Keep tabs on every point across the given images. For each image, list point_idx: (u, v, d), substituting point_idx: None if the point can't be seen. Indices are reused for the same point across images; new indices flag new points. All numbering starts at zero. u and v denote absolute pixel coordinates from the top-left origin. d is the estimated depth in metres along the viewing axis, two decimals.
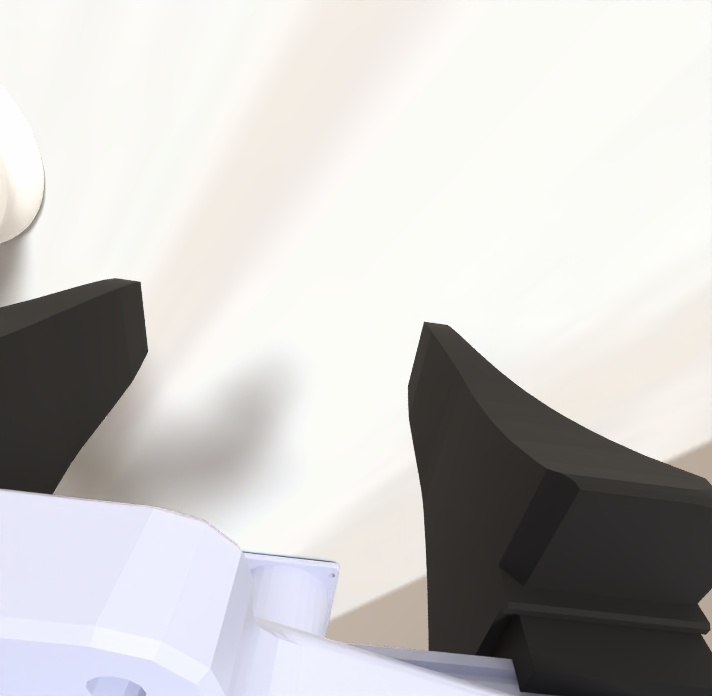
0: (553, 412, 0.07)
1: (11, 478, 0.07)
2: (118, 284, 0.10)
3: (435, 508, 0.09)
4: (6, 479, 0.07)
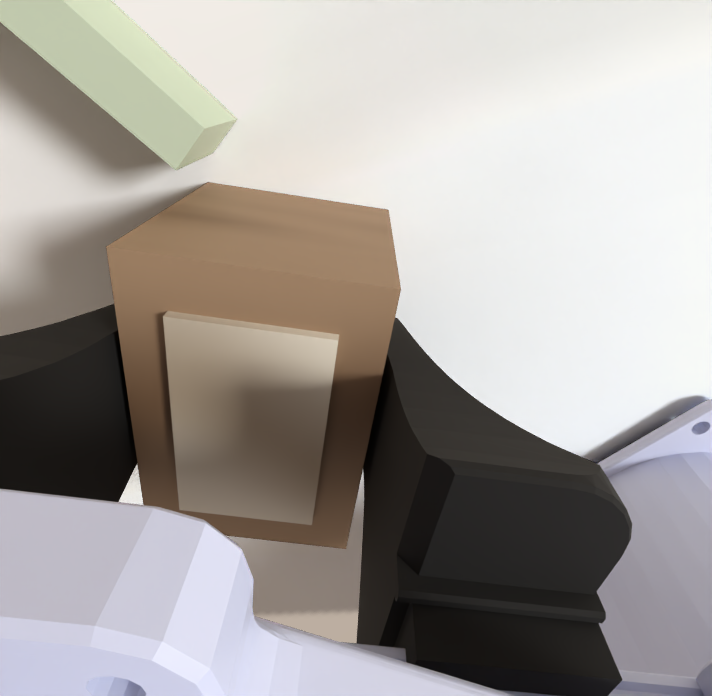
0: (475, 402, 0.07)
1: (88, 487, 0.08)
2: None
3: (369, 500, 0.09)
4: (84, 488, 0.07)
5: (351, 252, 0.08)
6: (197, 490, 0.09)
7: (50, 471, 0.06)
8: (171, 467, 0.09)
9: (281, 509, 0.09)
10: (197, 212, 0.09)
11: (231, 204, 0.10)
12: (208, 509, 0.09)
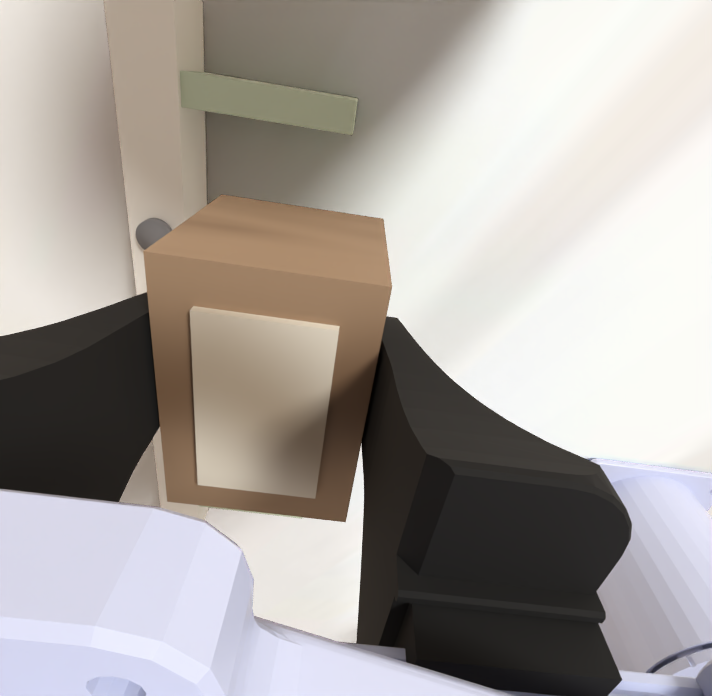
0: (475, 402, 0.07)
1: (88, 487, 0.08)
2: None
3: (369, 500, 0.09)
4: (85, 488, 0.07)
5: (350, 256, 0.09)
6: (214, 466, 0.10)
7: (50, 471, 0.06)
8: (191, 446, 0.10)
9: (288, 484, 0.11)
10: (215, 221, 0.10)
11: (244, 214, 0.11)
12: (223, 484, 0.11)
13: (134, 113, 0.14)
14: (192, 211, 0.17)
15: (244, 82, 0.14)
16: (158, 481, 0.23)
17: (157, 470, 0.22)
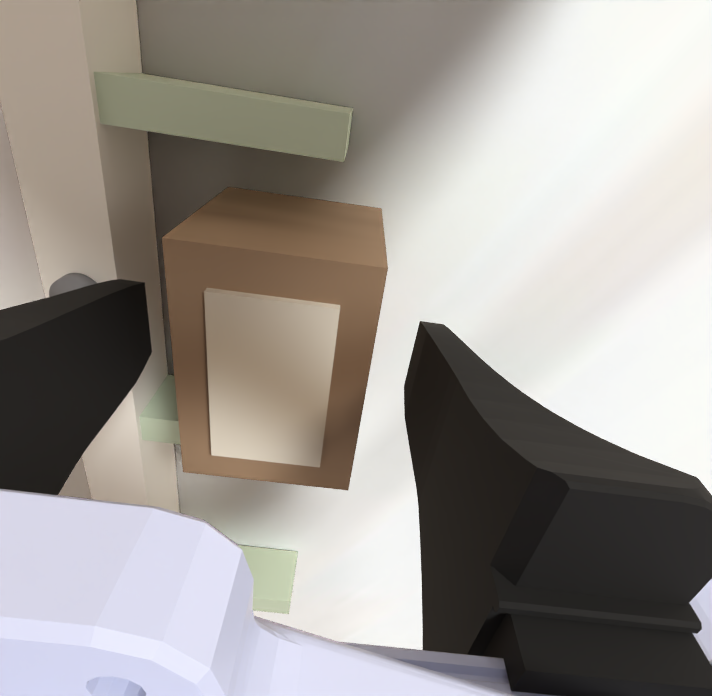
0: (547, 411, 0.07)
1: (17, 479, 0.07)
2: (123, 285, 0.10)
3: (429, 507, 0.09)
4: (12, 480, 0.07)
5: (350, 241, 0.10)
6: (226, 437, 0.11)
7: None
8: (205, 419, 0.11)
9: (294, 453, 0.11)
10: (224, 211, 0.11)
11: (251, 204, 0.12)
12: (235, 454, 0.11)
13: (33, 133, 0.10)
14: (130, 261, 0.12)
15: (188, 88, 0.10)
16: None
17: None
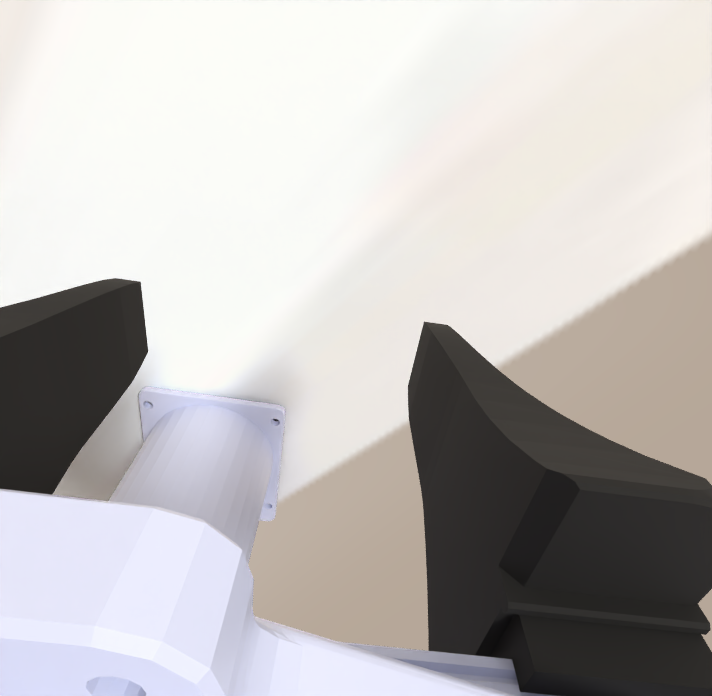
0: (553, 412, 0.07)
1: (11, 478, 0.07)
2: (118, 284, 0.10)
3: (435, 508, 0.09)
4: (6, 479, 0.07)
5: None
6: None
7: None
8: None
9: None
10: None
11: None
12: None
13: None
14: None
15: None
16: None
17: None
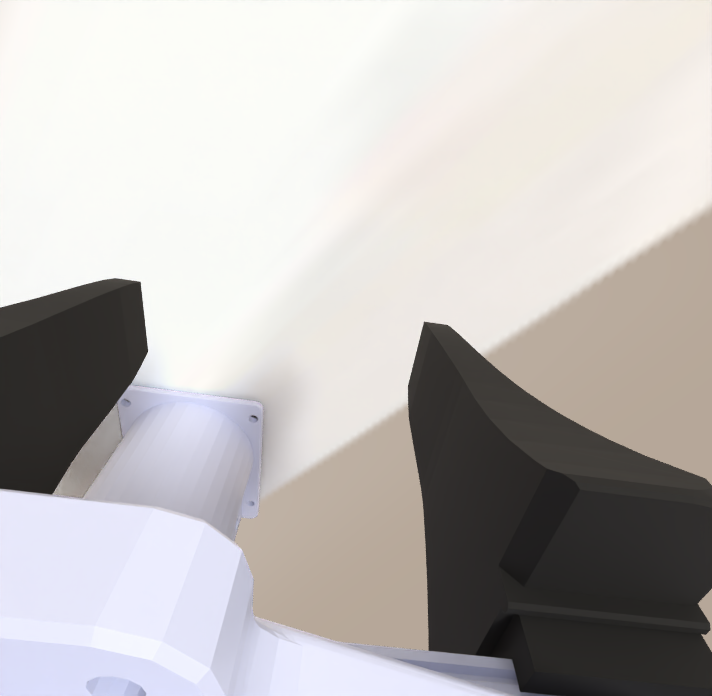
0: (553, 412, 0.07)
1: (11, 478, 0.07)
2: (118, 284, 0.10)
3: (435, 508, 0.09)
4: (6, 479, 0.07)
5: None
6: None
7: None
8: None
9: None
10: None
11: None
12: None
13: None
14: None
15: None
16: None
17: None
